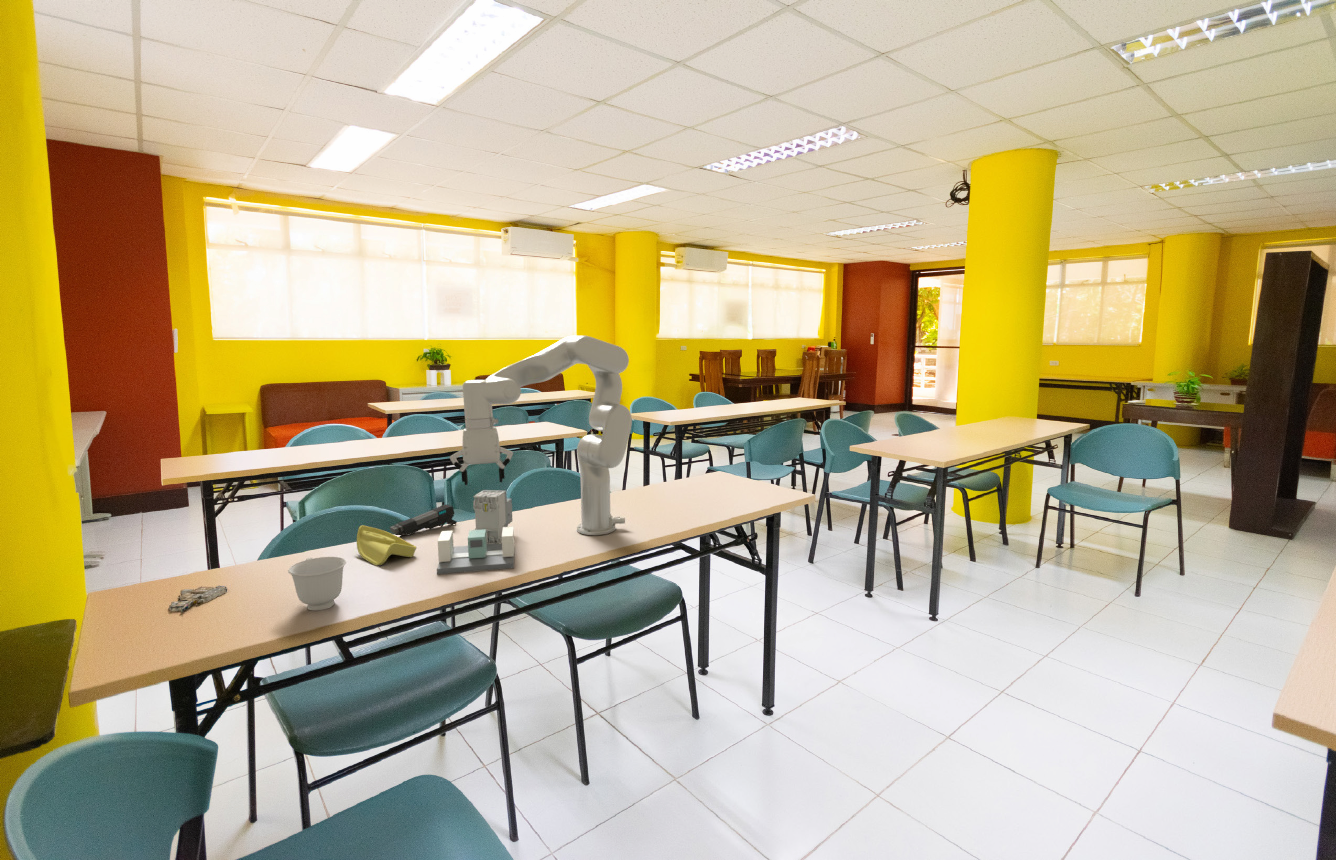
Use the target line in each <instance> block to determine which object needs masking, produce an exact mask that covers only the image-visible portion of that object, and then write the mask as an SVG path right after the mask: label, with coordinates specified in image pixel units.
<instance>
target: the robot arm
mask: <svg viewBox="0 0 1336 860" xmlns="http://www.w3.org/2000/svg"><path fill="white" fill-rule="evenodd" d="M629 359H630V357H629V355H628V353H627V351H626V350H625V349H624V348H623V347H621V346H619V345H616V344H613V343H610V342H607V341H604V340H601V339H599V338H598V339H597V338H594V337H592V336H590V335H589V336H588V335H569V336H566V337H563V338H561V339H559V340H558V341H557V342H555V343H552V344H551V345H550V346H548V347H546V348H544V349H542V350H540V351H539V352H537V353H535V354H534V355H531V356H528V357H526V358H524V359H522V360H519V361H517V362H515V363H512V364H509V365H507V366H506V367H503V368H501V369H500V370H498V371H496V372H494V373H492V374H491V375H489V376H488V377H487V378H485V379H470V380H466V381H465V382H463V384H462V397H463V408H464V409H463V411H464V422H465V428H464V429H463V431H462V449H460V450H458V451H457V452H455V453H453V454H452V455H449V459H450V461H451V463H452V465H453V466H454V467H455V468H456V469H457V470H458V471H460V474H461V482H462V483H464V486H468V483H469V477H468V469H467V468H468V466H469V465H471V466H472V465H484V464H494V463H495V464H496V465H497V466H498V478H499V483H503V480H505V478H506V477H505V468H506V466H507V465H508V464H509V463H510V461H511V460H512V458H513V455H514V452H513V451H511V450H509V449H507V448H506V447H502V446H501V445H500V440H499V439H500V437H499V433H498V430H497V427H496V426H495V425H497V424H499V418H494V413H493V405H511V404H514V403H515V402H517V401H518V400H519V398H520V396H521V395H522V387H524V386H528V385H532V384H537V383H543V382H546V381H549V380H551V379H553V378H554V377H557V376H558V375H560V374H561V373H563V372H565V371H566V370H568V369H570V368H571V367H573V366H575V365H576V364H577V365H578V364H581V365H587V367H588V368H589V369H590V371H591V372H592V374H593V376H594V379H595V389H594V390H595V391H594V395H593V399H592V403H591V407H590V411H589V414H588V415H589V416H588V423H589V425H590V427H591V428H592V429H594V430H596V431H599V432H602V435H599V434H594V433H591V434H587V435H584V436H583V437H582V438H581V439H580V440H579V441H578V444H577V447H576V455H577V460H578V464H579V465H578V466H579V474H580V507H581V510H580V514H581V519H580V520H581V523H580V524H578V525H577V526H576V531H577V532H578V533H579V534H582V535H585V536H603V535H607V534H611V533H613V532H614V531H615V530H616V525H617V524H619V525H621V524H622V525H623V524H626V517H621V516H612V513H611V476H610V469H614V468H616V467H618V466H619V465H620V464H621V463H622V462H623V459H624V457H625V454H626V451H627V447H628V442H629V438H630V434H631V431H632V425H633V424H632V423H633V418H632V414H631V411H630V409H628V407H626V406H625V405H624V404H621V403H620V402H621V398H622V397H621V396H622V393H623V381H622V378H621V375H620V374H621V373H623V372H624V371H626V370H627V368H628V366H629V363H630V362H629V361H630V360H629ZM501 453H502V454H504V455H506V458H505V459H504V460H502V459H501ZM461 456H462V459H463V460H462V461H463V463H460V462H459V461H458V460H457V458H459V457H461Z"/></svg>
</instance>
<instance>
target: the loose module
mask: <svg viewBox="0 0 1336 860" xmlns="http://www.w3.org/2000/svg"><path fill="white" fill-rule="evenodd" d="M467 546H468V555H469V559H471V558H484V557H486V551H487V543H486V529H484V530H475V529H471V530H469V532H468V535H467Z"/></svg>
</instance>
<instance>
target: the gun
mask: <svg viewBox="0 0 1336 860" xmlns="http://www.w3.org/2000/svg"><path fill="white" fill-rule="evenodd" d="M454 514H455V510H454V506H451V505H450V504H442V505H440V506H438V507H435V508H433V509H431V510H428V511H426V512H424V513H422V514H418V515H417V516H414V517H412V518H411V517H410V518H407V519H405V520H403V521H400V522H398V523H397V524H396V523H395V524H393V525H391V526H389V529H390V533H392V534H393V535H403V534H405V535H407V534H410V535H412V534H415V533H416V532H418V531H420V530H423V529H426V530H428V529H429V530H433V529H435V528H437V527H440V528H443V526H444V525H445V524H446V523H447V524H449V525H452V526H454V525H453V524H455V525H457V522H458V521H457V520H454V519H453V517H454V516H455V515H454ZM403 536H404V535H403Z"/></svg>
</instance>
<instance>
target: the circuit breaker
mask: <svg viewBox="0 0 1336 860" xmlns="http://www.w3.org/2000/svg"><path fill="white" fill-rule="evenodd" d="M472 497H473V498H474V500H473V502H472V503H473V505H472V506H473V511H474V516H475V517H474V518H475V521H474V522H475V528H474V530H484V529H486V543H487V544H498V543H502V530H503V527H509V525H510V524H511V523H512V522H513V503H512V502H513V500H512V498H508V497H507V490H501V489H500V490H499V489H498V490H495V489H492V490H491V489H483V490H481V491H480V492H478V493H476V494H475V495H473V496H472Z"/></svg>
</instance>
